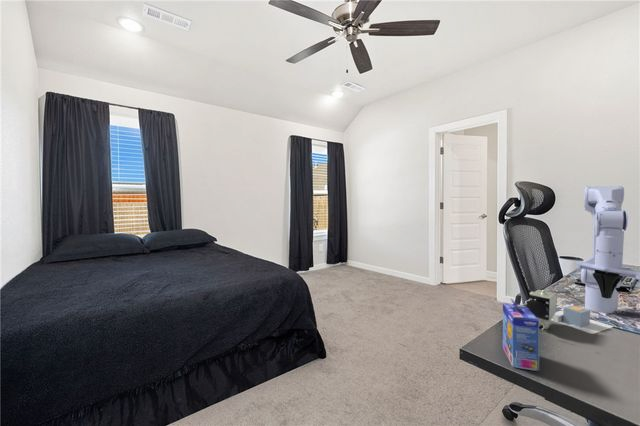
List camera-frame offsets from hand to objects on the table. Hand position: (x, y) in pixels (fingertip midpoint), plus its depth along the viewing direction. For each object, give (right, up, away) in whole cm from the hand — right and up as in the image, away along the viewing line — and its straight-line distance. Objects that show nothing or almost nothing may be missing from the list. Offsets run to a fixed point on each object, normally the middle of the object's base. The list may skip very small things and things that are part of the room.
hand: (606, 297), depth 86 cm
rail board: (-3, -10, +5) cm, 12 cm away
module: (-5, -9, +4) cm, 11 cm away
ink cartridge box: (-35, -11, -14) cm, 39 cm away
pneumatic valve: (-17, -11, +3) cm, 20 cm away
